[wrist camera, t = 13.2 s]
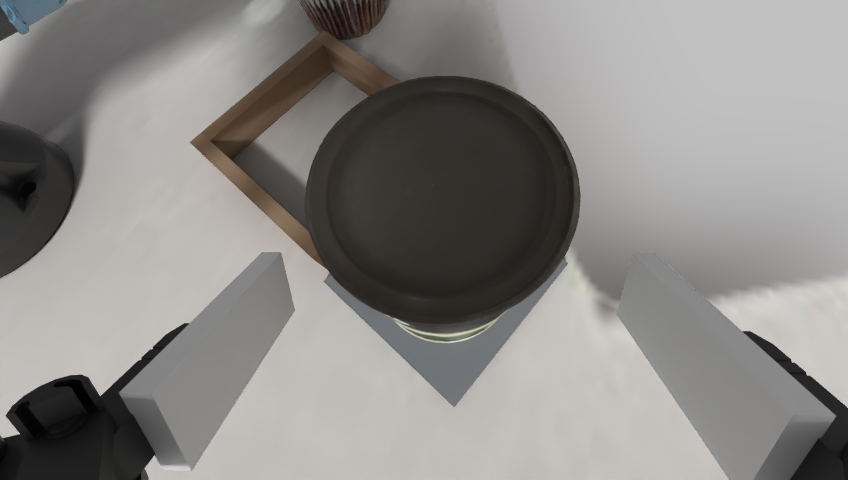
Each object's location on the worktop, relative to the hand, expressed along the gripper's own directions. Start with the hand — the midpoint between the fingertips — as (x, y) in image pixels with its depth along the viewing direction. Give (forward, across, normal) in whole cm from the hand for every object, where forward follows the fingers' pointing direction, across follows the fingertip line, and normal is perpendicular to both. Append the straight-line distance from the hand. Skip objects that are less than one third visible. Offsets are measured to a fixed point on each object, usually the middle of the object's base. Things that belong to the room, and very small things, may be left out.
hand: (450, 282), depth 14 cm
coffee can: (+11, 0, -6) cm, 13 cm away
